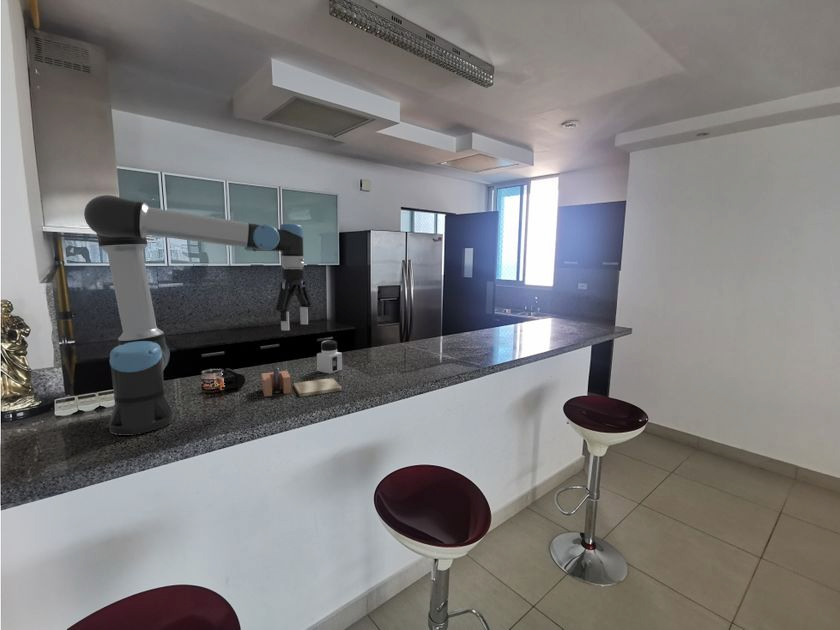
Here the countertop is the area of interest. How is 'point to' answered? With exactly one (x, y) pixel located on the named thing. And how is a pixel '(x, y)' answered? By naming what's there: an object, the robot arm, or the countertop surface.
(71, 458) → the countertop surface
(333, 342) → the container
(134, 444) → the countertop surface
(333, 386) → the board
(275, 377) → the stand
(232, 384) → the end cap
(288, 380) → the c link
